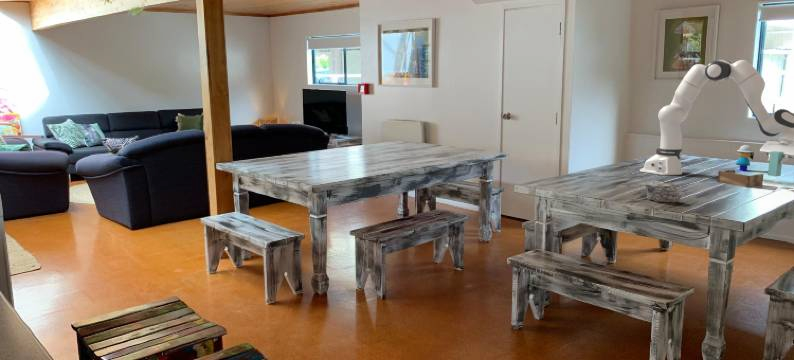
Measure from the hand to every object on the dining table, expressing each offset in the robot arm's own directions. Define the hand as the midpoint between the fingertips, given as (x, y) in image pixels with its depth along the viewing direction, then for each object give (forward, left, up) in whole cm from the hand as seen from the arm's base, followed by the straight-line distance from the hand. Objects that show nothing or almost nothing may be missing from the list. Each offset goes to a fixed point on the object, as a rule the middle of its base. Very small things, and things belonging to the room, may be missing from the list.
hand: (774, 162), depth 311 cm
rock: (-31, -66, -13) cm, 74 cm away
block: (0, +1, -7) cm, 7 cm away
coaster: (-2, -4, -13) cm, 14 cm away
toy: (-24, +50, -13) cm, 57 cm away
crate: (-14, 0, -13) cm, 19 cm away
